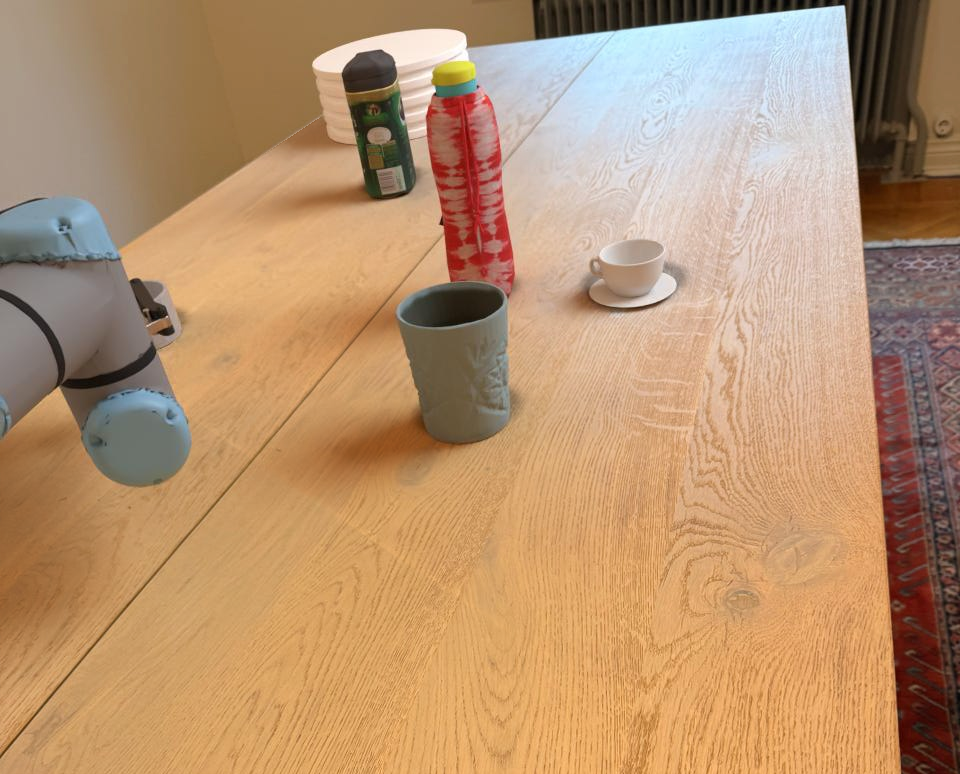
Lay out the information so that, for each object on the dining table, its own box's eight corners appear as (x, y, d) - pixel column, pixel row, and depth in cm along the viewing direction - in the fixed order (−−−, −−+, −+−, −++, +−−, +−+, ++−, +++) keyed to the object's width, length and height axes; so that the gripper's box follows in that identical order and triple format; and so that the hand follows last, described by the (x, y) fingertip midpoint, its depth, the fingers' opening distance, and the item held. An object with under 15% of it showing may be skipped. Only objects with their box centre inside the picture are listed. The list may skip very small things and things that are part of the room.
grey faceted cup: (98, 342, 120) (79, 301, 116) (162, 314, 123) (146, 273, 120) (128, 362, 114) (109, 319, 110) (195, 332, 118) (179, 290, 114)
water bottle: (448, 281, 118) (410, 54, 101) (511, 270, 118) (483, 41, 101) (454, 321, 109) (414, 80, 92) (522, 310, 109) (494, 66, 92)
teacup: (686, 275, 110) (687, 235, 106) (661, 314, 103) (661, 272, 100) (605, 272, 114) (603, 232, 110) (576, 308, 107) (573, 268, 104)
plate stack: (302, 148, 171) (285, 77, 163) (363, 101, 189) (350, 35, 182) (445, 141, 162) (433, 65, 154) (494, 92, 180) (486, 23, 173)
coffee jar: (371, 182, 151) (343, 50, 139) (419, 175, 150) (395, 42, 138) (363, 203, 144) (334, 66, 132) (414, 196, 143) (389, 57, 131)
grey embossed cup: (399, 425, 94) (374, 310, 86) (476, 383, 98) (458, 270, 90) (463, 459, 88) (441, 339, 80) (542, 413, 92) (529, 294, 84)
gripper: (28, 443, 80) (6, 345, 96) (223, 377, 84) (171, 294, 100) (-16, 362, 75) (-31, 272, 91) (194, 296, 79) (144, 222, 95)
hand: (75, 284), depth 95 cm, fingers closed on sprinkles bottle, 4 cm apart
